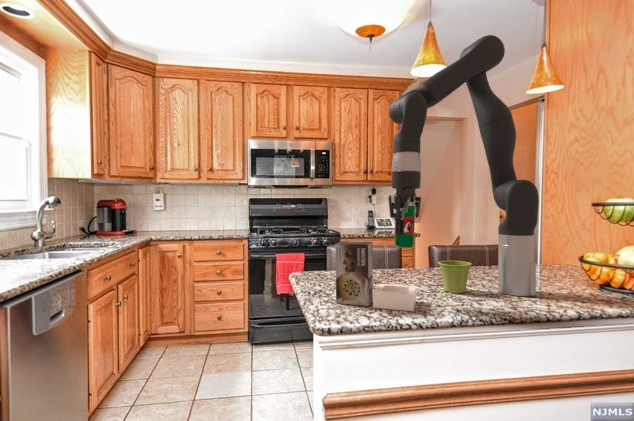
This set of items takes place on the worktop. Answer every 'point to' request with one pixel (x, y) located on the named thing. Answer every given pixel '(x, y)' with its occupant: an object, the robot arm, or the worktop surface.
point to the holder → (395, 297)
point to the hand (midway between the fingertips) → (404, 234)
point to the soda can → (407, 229)
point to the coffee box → (354, 273)
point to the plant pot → (454, 275)
